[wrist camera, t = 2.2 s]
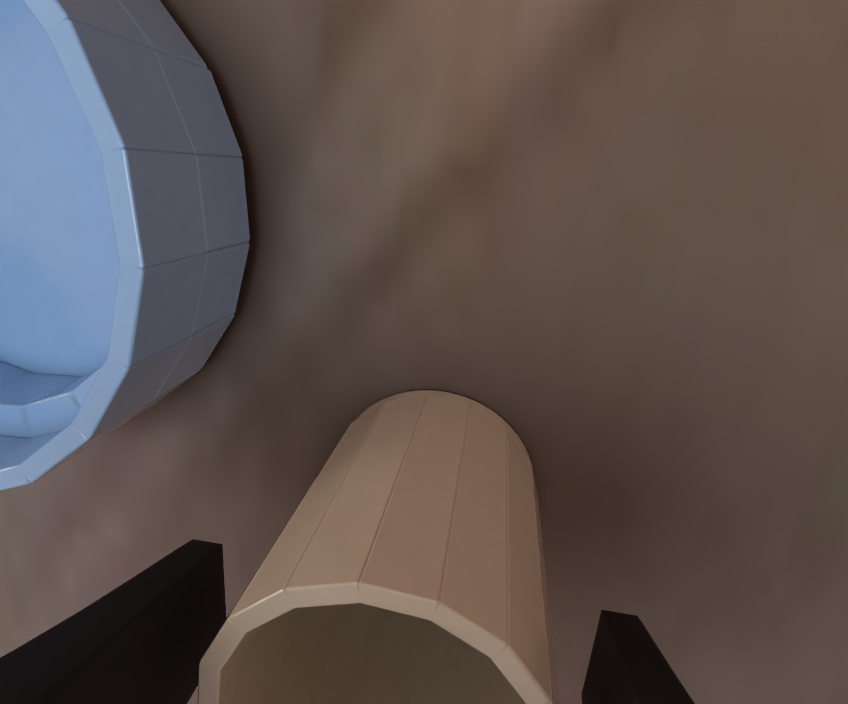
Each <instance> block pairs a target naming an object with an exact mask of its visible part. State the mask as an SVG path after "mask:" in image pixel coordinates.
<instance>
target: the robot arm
mask: <svg viewBox="0 0 848 704" xmlns="http://www.w3.org/2000/svg"><path fill="white" fill-rule="evenodd" d="M225 620H226V605H225V587H224V568H223V549H222V544H217V543H212V542H206V541H200V540H194V539H193V540H191V541H189V542H188V543H186V544H184V545H183V546H181V547H180V548H178V549H176V550H175V551H173V552H172V553H170V554H169V555H167V556H166V557H164V558H162V559H161V560H159V561H158V562H156V563H155V564H153V565H152V566H150V567H149V568H147V569H146V570H144V571H142V572H141V573H139V574H138V575H136V576H135V577H133V578H132V579H130V580H129V581H127V582H125V583H124V584H122V585H121V586H119V587H118V588H116V589H114V590H113V591H111V592H110V593H108V594H107V595H105V596H103V597H102V598H100V599H99V600H97V601H96V602H94V603H92V604H91V605H89V606H88V607H86V608H85V609H83V610H81V611H80V612H78V613H76V614H75V615H73V616H71V617H70V618H68V619H66V620H64V621H63V622H61V623H59V624H58V625H56V626H54V627H53V628H51V629H49V630H47V631H46V632H44V633H42V634H41V635H39V636H37V637H36V638H34V639H32V640H30V641H29V642H27V643H25V644H24V645H22V646H20V647H19V648H17V649H15V650H13V651H12V652H10V653H8V654H6V655H4V656H3V657H1V658H0V704H187V702H188V701H189V699H190V697H191V696H192V694H193V692H194V691H195V689H196V687H197V686H198V684H199V663H200V661H201V658H202V656H203V655H204V653H205V652H206V650H207V649H208V647H209V645H210V644H211V642H212V641H213V639H214V638H215V636H216V634H217V633H218V631H219V630H220V628H221V626H222V625H223V623H224V622H225ZM582 704H695V703H694V702H693V700H692V699H691V697H690V696H689V695H688V693H687V692H686V690H685V688H684V687H683V685H682V684H681V682H680V681H679V679H678V678H677V676H676V675H675V673H674V672H673V670H672V669H671V667H670V666H669V664H668V663H667V661H666V659H665V658H664V656H663V655H662V653H661V652H660V650H659V648H658V647H657V645H656V644H655V642H654V641H653V639H652V637H651V636H650V634H649V633H648V631H647V630H646V628H645V626H644V625H643V623H642V622H641V621H640V619H639V618H638V617H637V616H635V615H629V614H623V613H617V612H612V611H606V610H602V611H601V615H600V619H599V623H598V628H597V632H596V636H595V640H594V644H593V649H592V653H591V657H590V661H589V665H588V670H587V674H586V678H585V682H584V686H583V691H582Z"/></svg>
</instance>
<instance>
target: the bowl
mask: <svg viewBox="0 0 848 704" xmlns="http://www.w3.org/2000/svg"><path fill="white" fill-rule="evenodd" d="M241 157H242V153H241V150H240V148H239V145H238V143H237V140H236V137H235V135H234V132H233V129H232V127H231V124H230V121H229V119H228V116H227V113H226V111H225V108H224V105H223V103H222V100H221V98H220V95H219V92H218V90H217V87H216V84H215V82H214V79H213V76H212V74H211V71H210V70H209V69H207V66H206V64H205V62H204V61H203V60H202V58H201V57H200V55H199V54H198V53H197V51H196V50H195V49H194V47H193V46H192V44H191V43H190V42H189V40H188V39H187V37H186V36H185V35H184V33H183V32H182V31H181V29H180V28H179V26H178V25H177V24H176V22H175V21H174V19H173V18H172V17H171V15H170V14H169V12H168V11H167V10H166V8H165V7H164V6H163V4H162V3H161V1H160V0H0V491H1V490H6V489H10V488H14V487H18V486H22V485H26V484H30V483H32V482H35V481H36V480H38V479H39V478H41V477H42V476H44V475H46V474H47V473H49V472H50V471H52V470H53V469H55V468H56V467H58V466H59V465H61V464H63V463H64V462H66V461H67V460H69V459H70V458H72V457H73V456H75V455H77V454H78V453H80V452H81V451H83V450H84V449H86V448H87V447H89V446H90V445H92V444H94V443H95V442H97V441H98V440H100V439H101V438H103V437H104V436H106V435H107V434H109V433H111V432H112V431H114V430H115V429H117V428H118V427H120V426H121V425H123V424H124V423H126V422H128V421H129V420H131V419H132V418H134V417H135V416H137V415H138V414H140V413H142V412H143V411H145V410H146V409H148V408H149V407H151V406H152V405H154V404H155V403H157V402H158V401H159V400H161V399H162V398H163V397H165V396H166V395H168V394H169V393H170V392H172V391H173V390H174V389H176V388H177V387H178V386H180V385H181V384H183V383H184V382H185V381H187V380H188V379H189V378H191V377H192V376H193V375H195V374H196V373H197V372H198V371H199V370H200V369H202V367H203V366H204V364H205V363H206V361H207V359H208V358H209V356H210V355H211V353H212V351H213V350H214V348H215V346H216V345H217V343H218V342H219V340H220V338H221V337H222V335H223V334H224V332H225V330H226V329H227V327H228V326H229V324H230V322H231V321H232V319H233V318H234V313H235V310H236V306H237V301H238V296H239V292H240V287H241V282H242V278H243V273H244V268H245V264H246V259H247V254H248V250H249V243H248V241H250V233H249V222H248V211H247V200H246V189H245V178H244V167H243V160H242V158H241Z"/></svg>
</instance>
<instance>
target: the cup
mask: <svg viewBox="0 0 848 704" xmlns="http://www.w3.org/2000/svg"><path fill="white" fill-rule="evenodd" d="M198 704H559V702H558V692H557V682H556V672H555V662H554V652H553V642H552V632H551V622H550V612H549V602H548V592H547V582H546V572H545V562H544V552H543V542H542V532H541V522H540V512H539V502H538V496H537V490H536V485H535V477H534V470H533V466H532V463H531V459H530V457H529V455H528V452H527V450H526V448H525V446H524V444H523V443H522V441H521V440H520V438H519V436H518V435H517V434H516V433H515V431H514V430H513V429H512V428H511V427H510V426H509V425H508V424H507V423H506V422H505V421H504V420H503V419H502V418H501V417H500V416H498V415H497V414H496V413H494V412H493V411H492V410H490V409H489V408H487V407H485V406H484V405H482V404H480V403H478V402H476V401H474V400H471V399H469V398H466V397H464V396H460V395H457V394H453V393H449V392H443V391H434V390H419V391H409V392H404V393H400V394H395V395H393V396H390V397H387V398H385V399H382V400H380V401H379V402H377V403H375V404H373V405H371V406H370V407H369V408H367V409H366V410H364V411H363V412H362V413H361V414H360V415H359V416H358V417H357V418H356V419H355V420H353V422H352V423H351V424H350V425H349V427H348V428H347V430H346V431H345V433H344V434H343V436H342V437H341V439H340V441H339V442H338V444H337V445H336V447H335V448H334V450H333V451H332V453H331V454H330V456H329V458H328V459H327V461H326V462H325V464H324V465H323V467H322V469H321V470H320V472H319V473H318V475H317V477H316V478H315V480H314V481H313V483H312V484H311V486H310V488H309V489H308V491H307V492H306V494H305V495H304V497H303V499H302V500H301V502H300V503H299V505H298V507H297V508H296V510H295V511H294V513H293V514H292V516H291V518H290V519H289V521H288V522H287V524H286V525H285V527H284V529H283V530H282V532H281V533H280V535H279V536H278V538H277V540H276V541H275V543H274V544H273V546H272V548H271V549H270V551H269V552H268V554H267V555H266V557H265V559H264V560H263V562H262V563H261V565H260V566H259V568H258V570H257V571H256V573H255V574H254V576H253V578H252V579H251V581H250V582H249V584H248V585H247V587H246V589H245V590H244V592H243V593H242V595H241V596H240V598H239V600H238V601H237V603H236V604H235V606H234V608H233V609H232V611H231V612H230V614H229V615H228V617H227V619H226V620H225V622H224V623H223V625H222V626H221V628H220V630H219V631H218V633H217V634H216V636H215V638H214V639H213V641H212V642H211V644H210V645H209V647H208V649H207V650H206V652H205V653H204V655H203V656H202V658H201V661H200V663H199V685H198Z"/></svg>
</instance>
